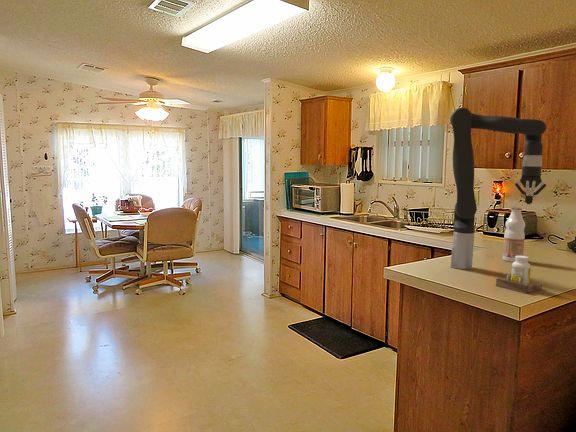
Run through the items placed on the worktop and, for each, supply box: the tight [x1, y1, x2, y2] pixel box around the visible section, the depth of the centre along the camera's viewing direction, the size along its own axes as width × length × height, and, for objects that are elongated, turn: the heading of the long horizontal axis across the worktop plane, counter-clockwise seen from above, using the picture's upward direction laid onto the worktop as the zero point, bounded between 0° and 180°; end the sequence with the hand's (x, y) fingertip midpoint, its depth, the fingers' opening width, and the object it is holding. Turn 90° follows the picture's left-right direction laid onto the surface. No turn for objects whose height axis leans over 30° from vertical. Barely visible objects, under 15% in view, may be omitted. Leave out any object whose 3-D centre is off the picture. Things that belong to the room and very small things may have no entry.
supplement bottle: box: [510, 255, 532, 286], centre depth 168 cm, size 7×7×13 cm
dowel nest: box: [495, 274, 543, 294], centre depth 169 cm, size 12×12×5 cm
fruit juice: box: [502, 206, 526, 263], centre depth 218 cm, size 9×9×28 cm
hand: (528, 204), depth 190 cm, fingers closed
